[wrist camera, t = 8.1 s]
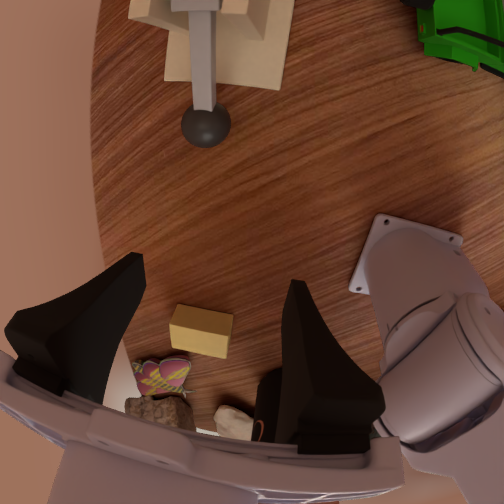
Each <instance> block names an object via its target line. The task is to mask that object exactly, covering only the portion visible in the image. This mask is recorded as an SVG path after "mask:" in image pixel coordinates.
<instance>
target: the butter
mask: <svg viewBox="0 0 504 504" xmlns="http://www.w3.org/2000/svg"><path fill="white" fill-rule="evenodd" d="M232 323H233V315H232V314H227V313H222V312H216V311H211V310H206V309H201V308H196V307H192V306H187V305H182V304H177V307H176V309H175V311H174V314H173V316H172V319H171V321H170V323H169V326H170V335H171V343H172V347H173V348H177V349H181V350H186V351H190V352H194V353H199V354H204V355H209V356H213V357H218V358H224V359H226V357H227V352H228V348H229V343H230V338H231V331H232Z"/></svg>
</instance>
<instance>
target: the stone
mask: <svg viewBox="0 0 504 504" xmlns="http://www.w3.org/2000/svg"><path fill="white" fill-rule="evenodd" d="M125 413H126V414H129V415H132V416H135V417H139V418H142V419H145V420H149V421H152V422H156V423H160V424H164V425H167V426H171V427H176V428H180V429H184V430H189V431H193V432H196V427H195V425H194V419H193V411H192V408H190V407H188V405H187V404H185V403H184V402H183V401H182V400H181V399H180V398H179V397H172V396H170V397H168V398H165V399H162V400H157V401H154V397H152V396H142V397H140V398H128V399H126V401H125Z"/></svg>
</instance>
